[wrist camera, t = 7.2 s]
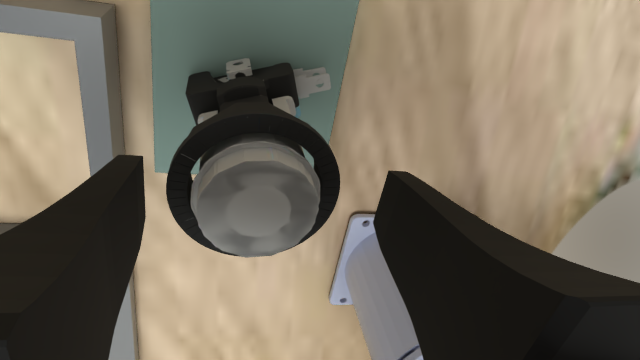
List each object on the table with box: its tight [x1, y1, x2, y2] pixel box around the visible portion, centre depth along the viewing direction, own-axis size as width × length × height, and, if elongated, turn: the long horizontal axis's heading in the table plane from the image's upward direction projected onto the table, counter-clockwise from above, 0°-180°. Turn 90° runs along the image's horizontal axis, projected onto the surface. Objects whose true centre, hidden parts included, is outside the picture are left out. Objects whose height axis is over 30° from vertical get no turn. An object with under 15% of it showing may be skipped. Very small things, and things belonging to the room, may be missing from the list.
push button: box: [166, 58, 340, 257], centre depth 16 cm, size 7×5×10 cm
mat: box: [150, 0, 359, 174], centre depth 21 cm, size 9×11×1 cm
